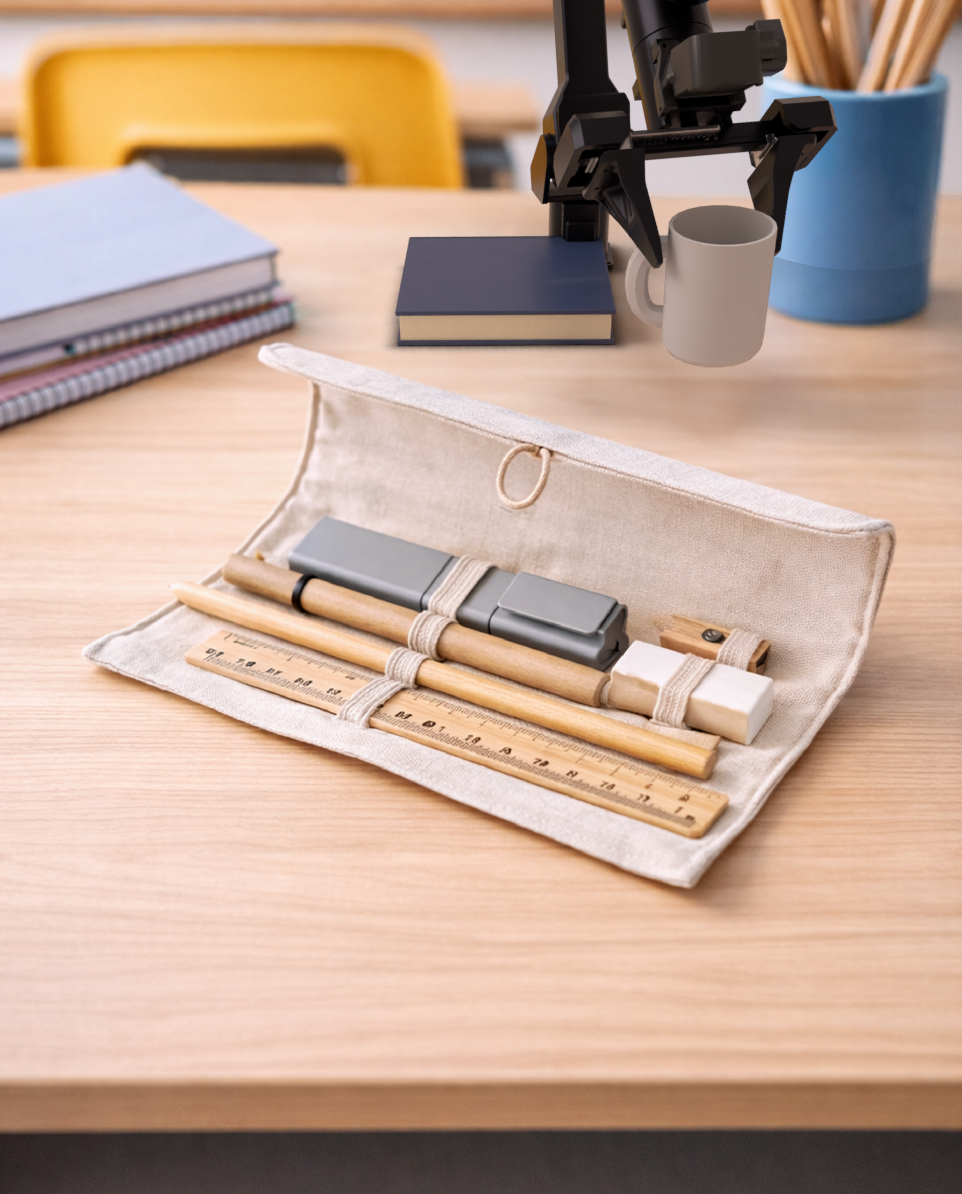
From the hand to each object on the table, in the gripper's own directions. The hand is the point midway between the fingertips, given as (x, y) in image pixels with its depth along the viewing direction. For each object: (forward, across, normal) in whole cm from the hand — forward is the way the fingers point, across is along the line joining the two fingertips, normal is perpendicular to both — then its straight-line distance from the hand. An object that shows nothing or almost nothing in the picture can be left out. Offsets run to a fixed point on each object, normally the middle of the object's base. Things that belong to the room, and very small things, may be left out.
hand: (717, 260), depth 81 cm
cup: (+4, 0, +6) cm, 7 cm away
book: (-9, -8, +26) cm, 29 cm away
